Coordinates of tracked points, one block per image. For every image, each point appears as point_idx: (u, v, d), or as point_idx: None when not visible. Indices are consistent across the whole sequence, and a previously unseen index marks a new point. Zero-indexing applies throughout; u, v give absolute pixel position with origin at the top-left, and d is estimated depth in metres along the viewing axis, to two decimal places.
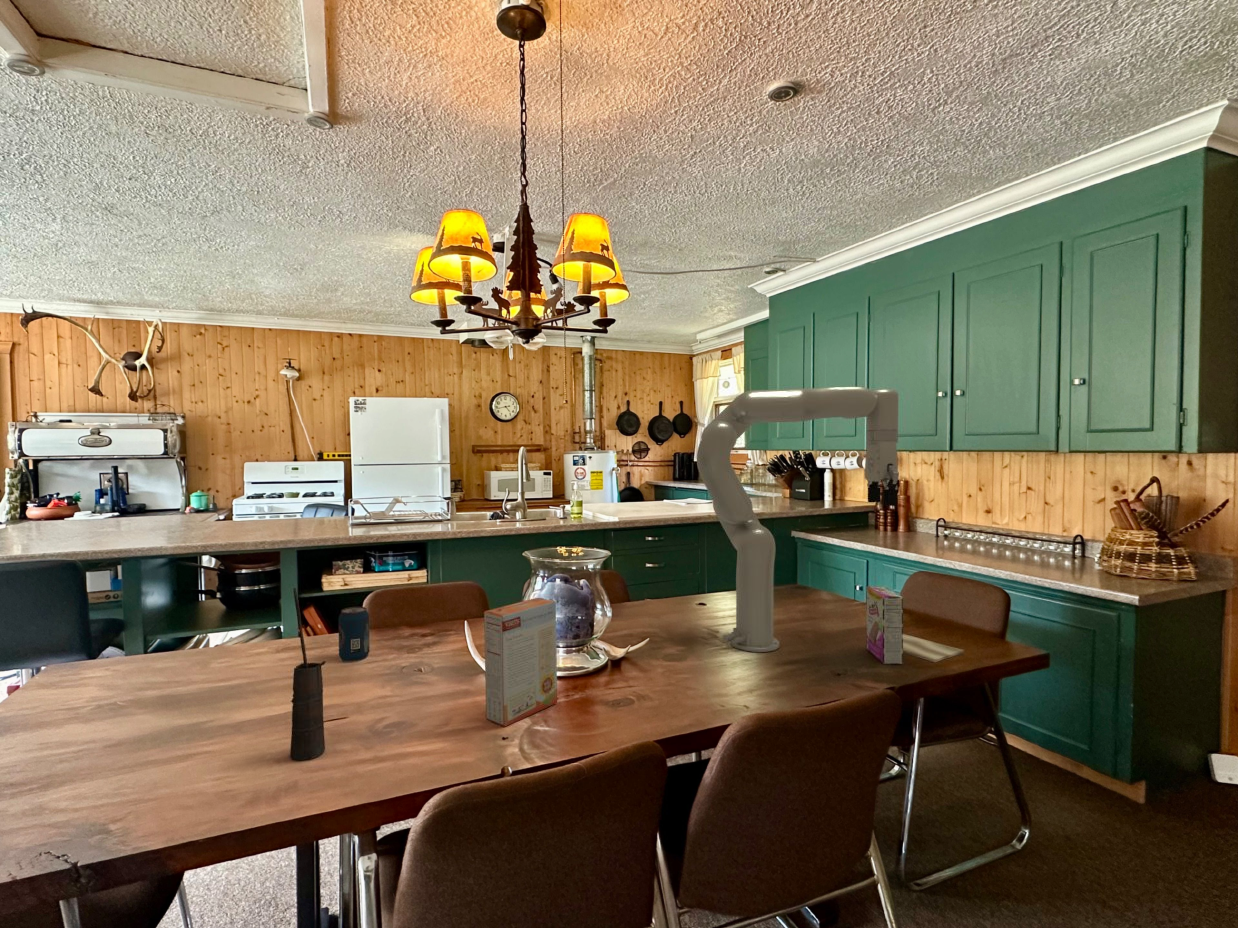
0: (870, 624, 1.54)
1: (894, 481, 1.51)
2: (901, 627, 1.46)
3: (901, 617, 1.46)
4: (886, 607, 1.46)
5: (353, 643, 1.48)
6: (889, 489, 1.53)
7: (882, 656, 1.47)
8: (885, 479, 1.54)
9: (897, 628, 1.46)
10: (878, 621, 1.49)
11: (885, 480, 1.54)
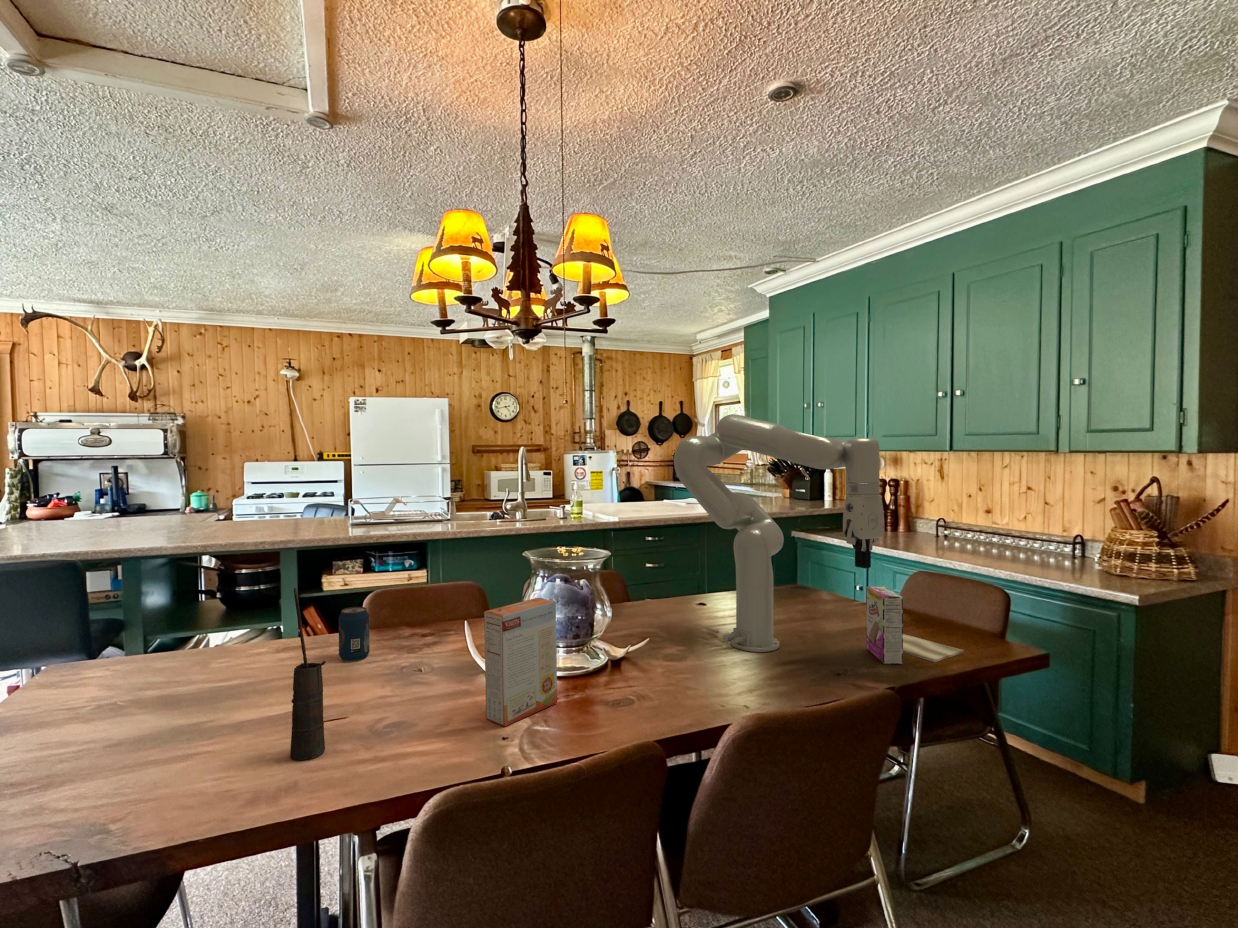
0: (870, 624, 1.54)
1: None
2: (901, 627, 1.46)
3: (901, 617, 1.46)
4: (886, 607, 1.46)
5: (353, 643, 1.48)
6: None
7: (882, 656, 1.47)
8: None
9: (897, 628, 1.46)
10: (878, 621, 1.49)
11: None
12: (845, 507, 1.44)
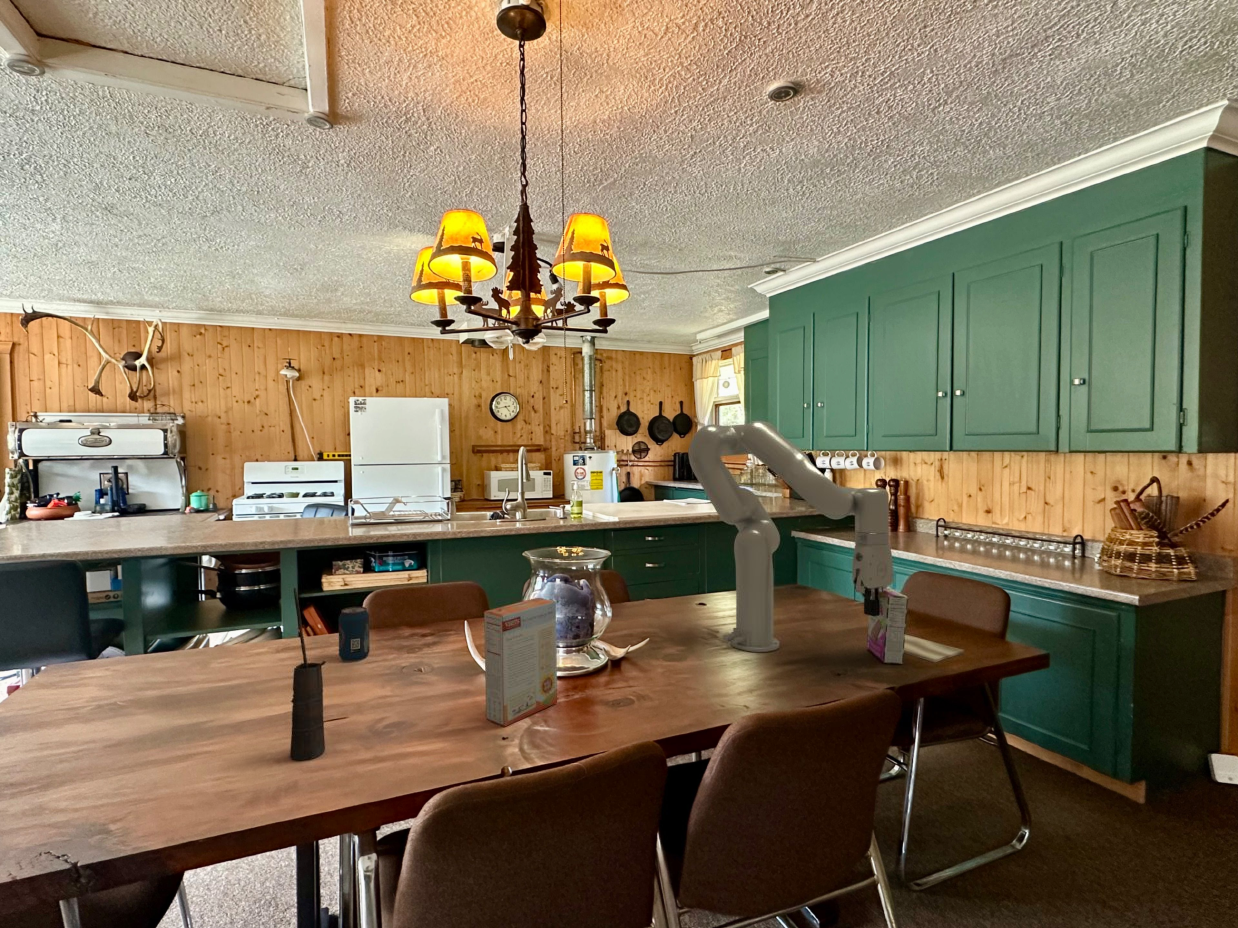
0: (872, 623, 1.54)
1: None
2: (904, 627, 1.46)
3: (905, 617, 1.46)
4: (891, 606, 1.46)
5: (353, 643, 1.48)
6: None
7: (882, 655, 1.47)
8: None
9: (900, 627, 1.46)
10: (881, 620, 1.49)
11: None
12: (854, 556, 1.47)
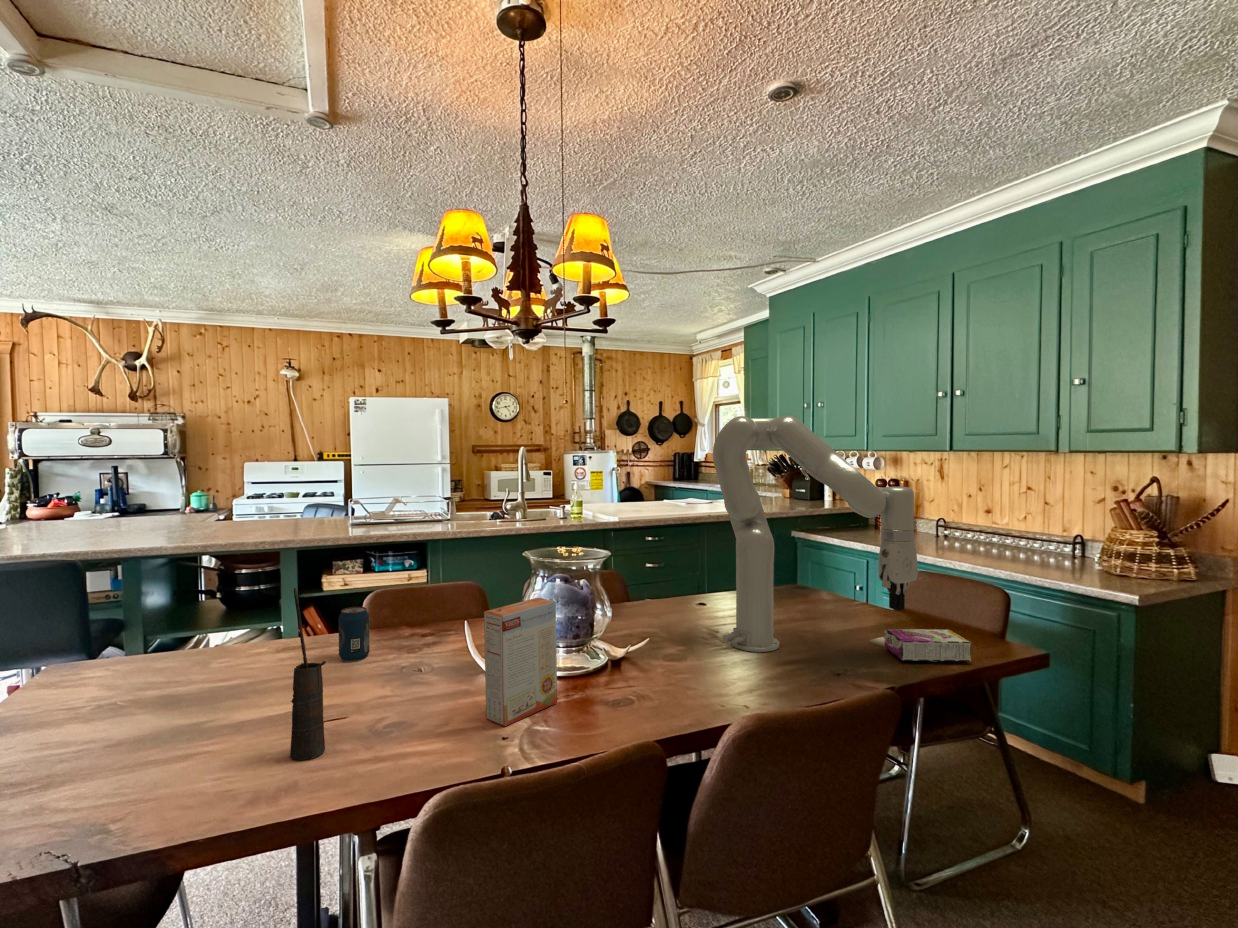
0: (918, 631, 1.54)
1: None
2: (940, 659, 1.46)
3: (950, 659, 1.46)
4: (961, 645, 1.46)
5: (353, 643, 1.48)
6: None
7: (907, 640, 1.47)
8: None
9: (939, 655, 1.46)
10: (937, 637, 1.49)
11: None
12: (881, 552, 1.52)
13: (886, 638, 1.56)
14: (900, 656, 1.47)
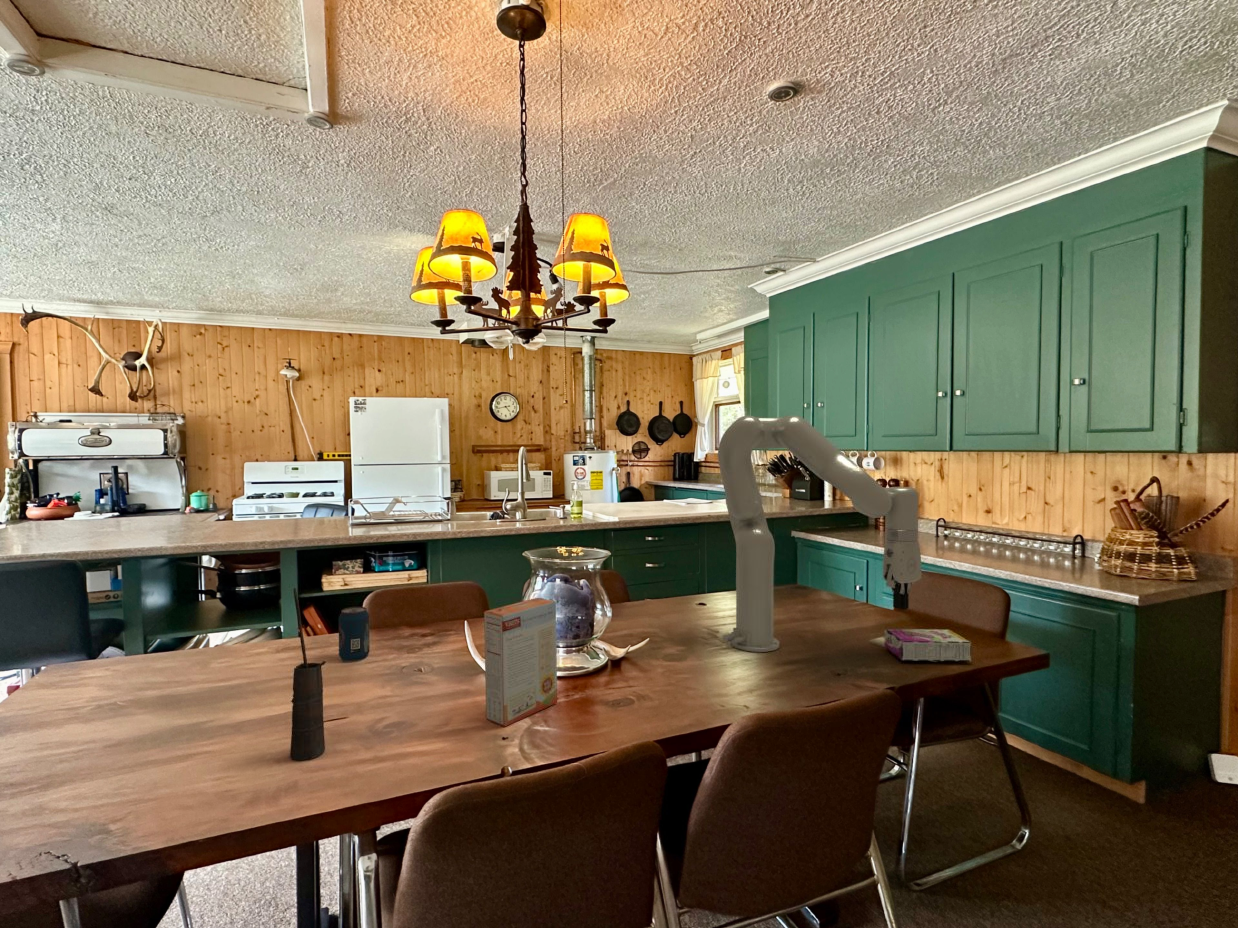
0: (918, 631, 1.54)
1: None
2: (940, 659, 1.46)
3: (950, 659, 1.46)
4: (961, 645, 1.46)
5: (353, 643, 1.48)
6: None
7: (907, 640, 1.47)
8: None
9: (939, 655, 1.46)
10: (937, 637, 1.49)
11: None
12: (885, 552, 1.53)
13: (886, 638, 1.56)
14: (900, 656, 1.47)
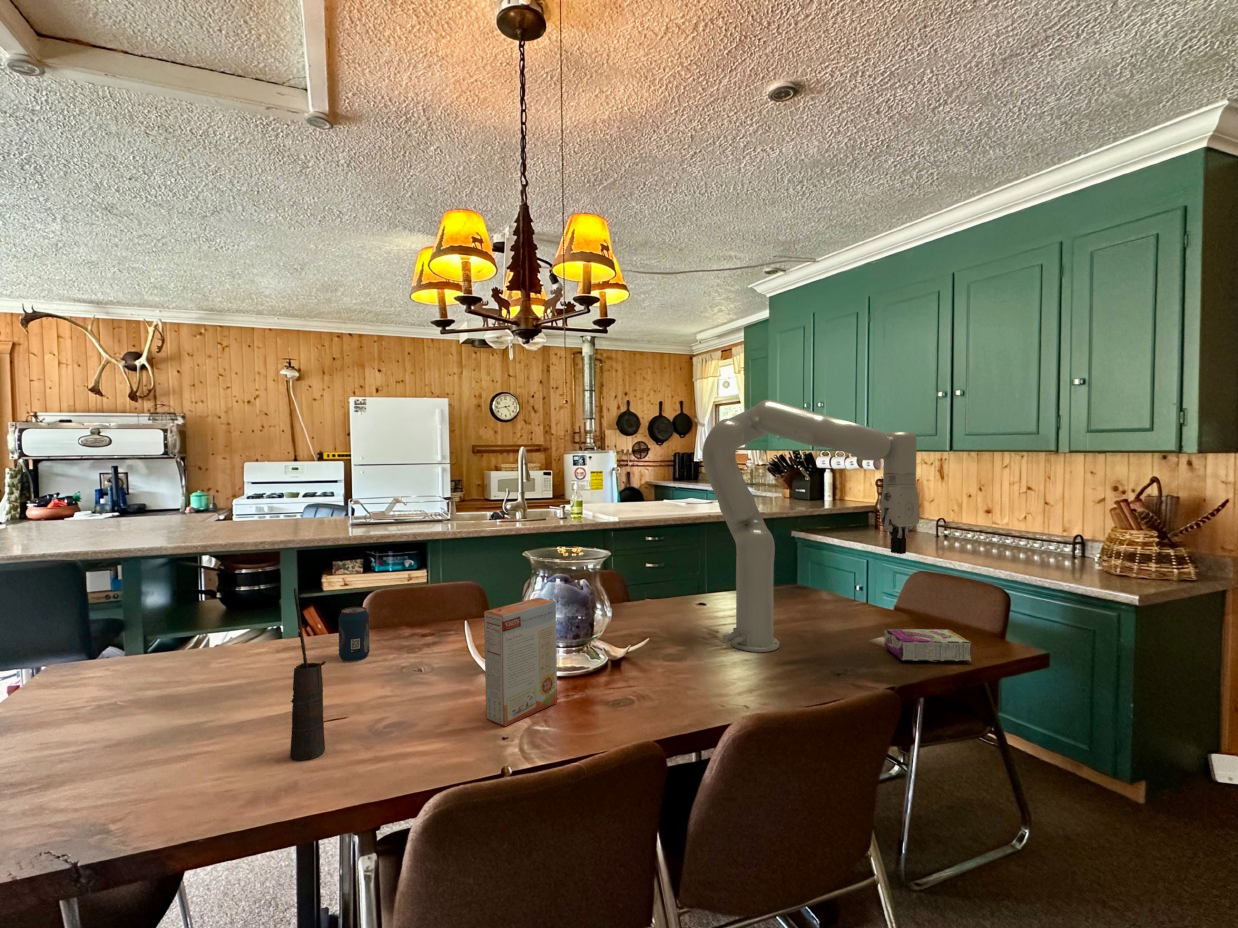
0: (918, 631, 1.54)
1: None
2: (940, 659, 1.46)
3: (950, 659, 1.46)
4: (961, 645, 1.46)
5: (353, 643, 1.48)
6: None
7: (907, 640, 1.47)
8: None
9: (939, 655, 1.46)
10: (937, 637, 1.49)
11: None
12: (883, 496, 1.54)
13: (886, 638, 1.56)
14: (900, 656, 1.47)
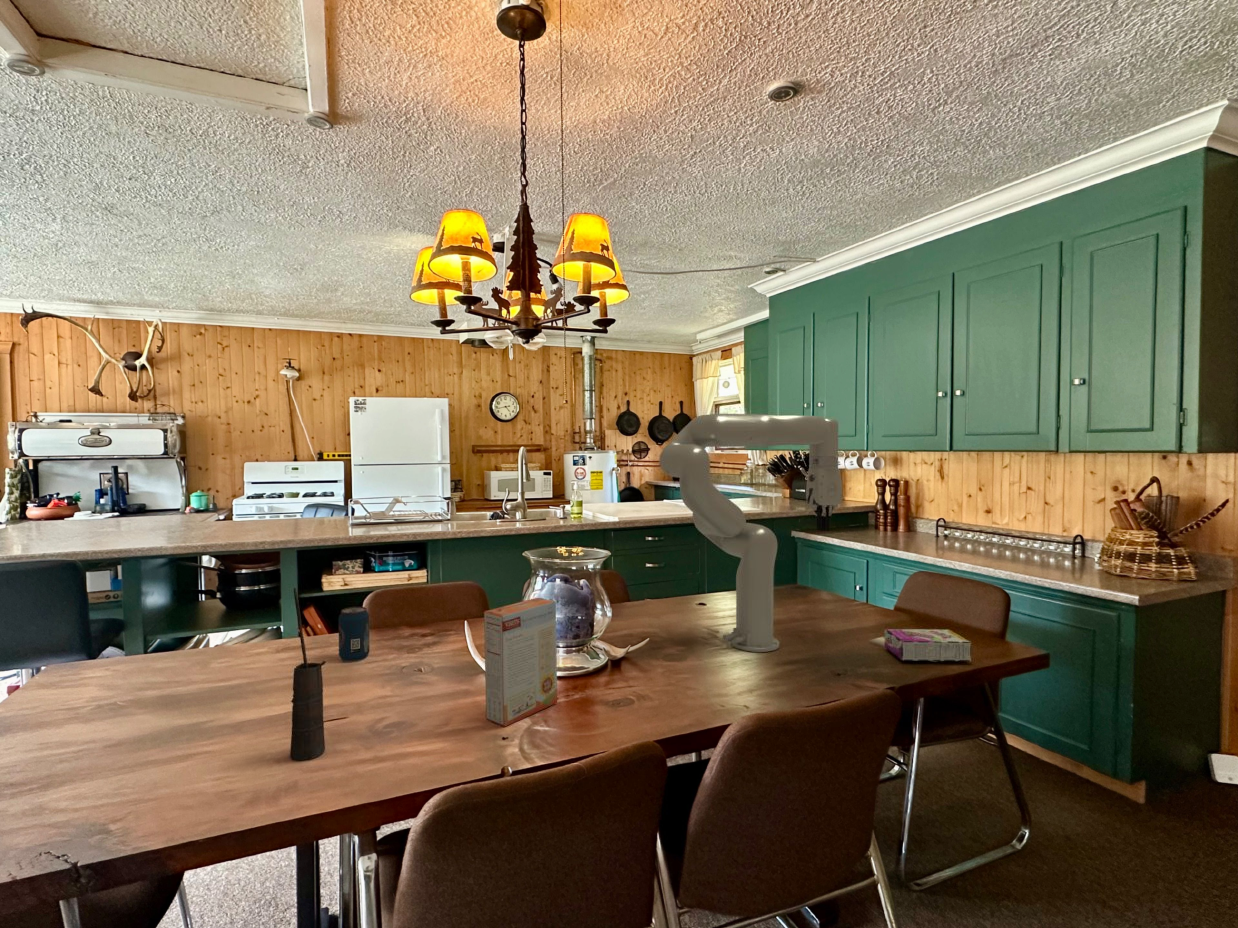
0: (918, 631, 1.54)
1: None
2: (940, 659, 1.46)
3: (950, 659, 1.46)
4: (961, 645, 1.46)
5: (353, 643, 1.48)
6: None
7: (907, 640, 1.47)
8: None
9: (939, 655, 1.46)
10: (937, 637, 1.49)
11: None
12: (808, 478, 1.67)
13: (886, 638, 1.56)
14: (900, 656, 1.47)
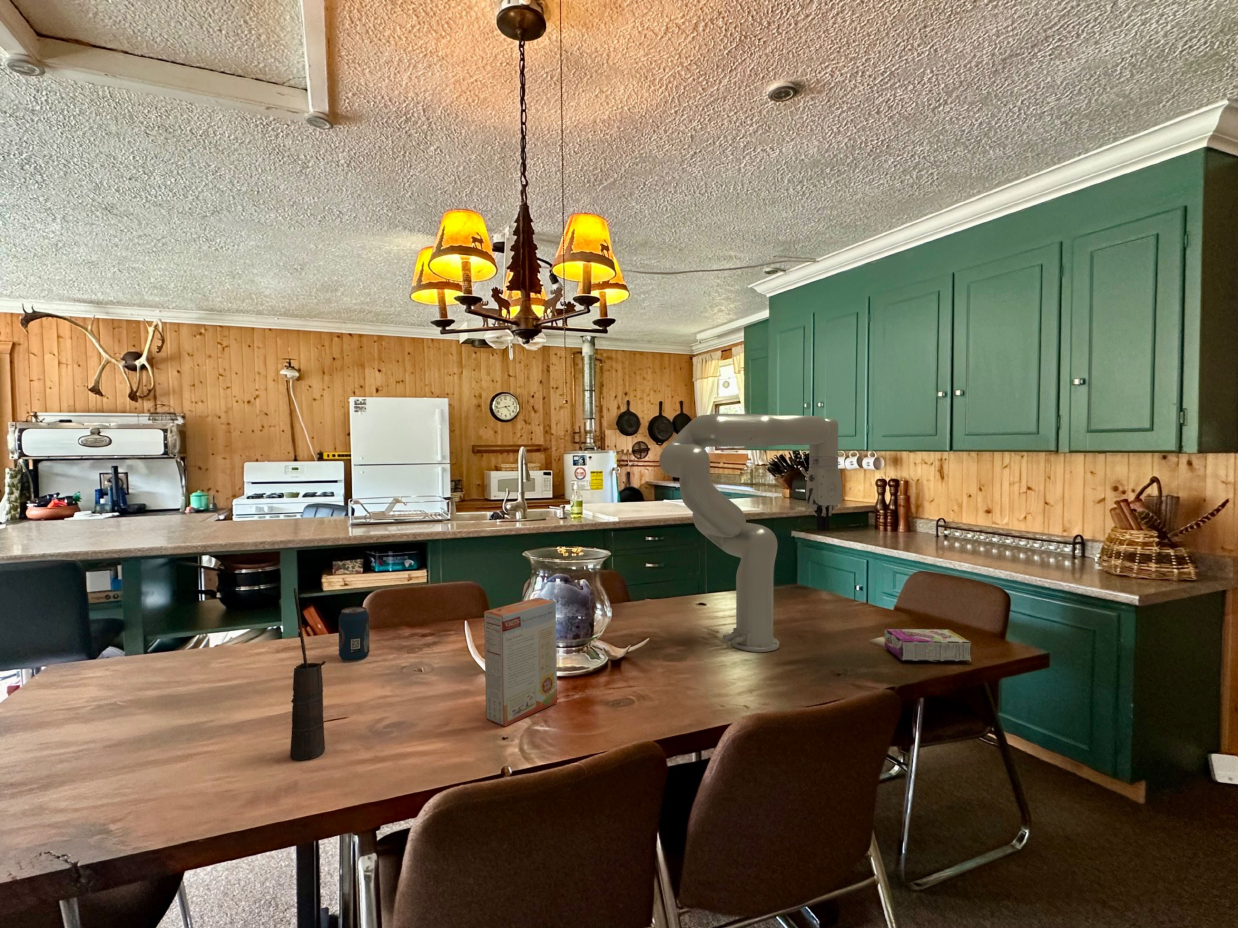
0: (918, 631, 1.54)
1: None
2: (940, 659, 1.46)
3: (950, 659, 1.46)
4: (961, 645, 1.46)
5: (353, 643, 1.48)
6: None
7: (907, 640, 1.47)
8: None
9: (939, 655, 1.46)
10: (937, 637, 1.49)
11: None
12: (808, 478, 1.67)
13: (886, 638, 1.56)
14: (900, 656, 1.47)
